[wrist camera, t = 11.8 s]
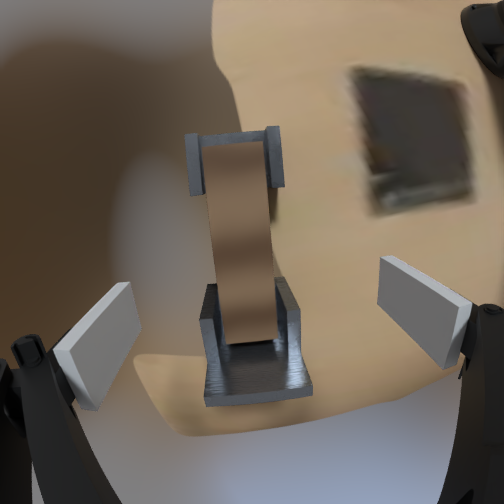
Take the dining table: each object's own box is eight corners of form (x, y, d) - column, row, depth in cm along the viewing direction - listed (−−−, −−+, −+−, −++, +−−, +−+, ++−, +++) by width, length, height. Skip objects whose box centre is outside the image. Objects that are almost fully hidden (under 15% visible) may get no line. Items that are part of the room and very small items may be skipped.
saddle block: (191, 140, 30) (184, 134, 25) (273, 132, 30) (279, 125, 26) (196, 193, 31) (190, 196, 27) (277, 185, 31) (284, 187, 27)
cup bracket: (207, 284, 34) (192, 350, 20) (284, 276, 34) (314, 337, 20) (214, 328, 35) (206, 406, 22) (286, 321, 35) (312, 395, 22)
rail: (208, 153, 28) (201, 147, 22) (257, 148, 28) (262, 141, 22) (227, 316, 33) (226, 344, 27) (270, 311, 33) (278, 338, 27)
